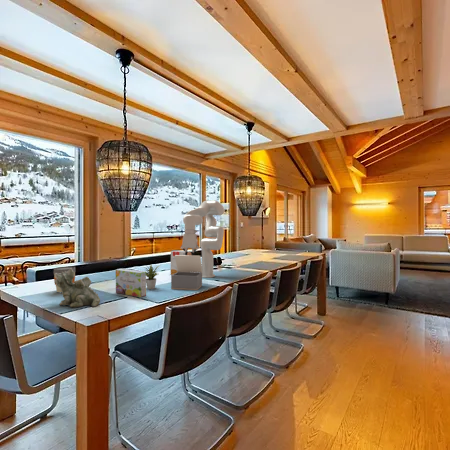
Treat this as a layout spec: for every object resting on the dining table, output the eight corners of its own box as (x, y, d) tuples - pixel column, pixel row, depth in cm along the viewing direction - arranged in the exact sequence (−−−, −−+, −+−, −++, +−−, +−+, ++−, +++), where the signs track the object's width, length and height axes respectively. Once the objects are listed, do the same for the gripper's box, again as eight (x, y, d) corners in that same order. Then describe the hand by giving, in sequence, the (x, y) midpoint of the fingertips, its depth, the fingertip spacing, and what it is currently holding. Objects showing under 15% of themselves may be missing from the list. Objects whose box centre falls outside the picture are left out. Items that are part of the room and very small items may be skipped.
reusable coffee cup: (48, 292, 186) (48, 268, 186) (66, 288, 198) (66, 266, 198) (63, 294, 182) (63, 270, 181) (80, 290, 193) (80, 267, 193)
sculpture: (67, 298, 173) (67, 264, 173) (108, 301, 167) (108, 266, 167) (44, 306, 157) (44, 268, 157) (89, 310, 151) (89, 271, 151)
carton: (177, 284, 212) (177, 271, 212) (202, 285, 209) (202, 272, 209) (171, 288, 198) (171, 275, 198) (197, 289, 196) (197, 276, 195)
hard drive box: (170, 274, 249) (170, 251, 249) (173, 273, 256) (173, 250, 256) (188, 275, 246) (188, 251, 246) (190, 273, 254) (190, 250, 254)
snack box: (114, 293, 186) (114, 269, 185) (121, 291, 191) (121, 268, 190) (140, 297, 176) (140, 272, 176) (146, 295, 181) (146, 270, 181)
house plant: (153, 284, 211) (153, 261, 211) (166, 287, 203) (166, 263, 203) (136, 288, 199) (136, 264, 199) (150, 291, 191) (150, 266, 191)
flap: (200, 256, 203) (202, 250, 208) (174, 255, 205) (177, 250, 211) (202, 272, 209) (203, 267, 215) (177, 271, 212) (180, 266, 218)
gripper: (202, 232, 213) (202, 257, 212) (180, 231, 215) (179, 257, 215) (200, 232, 205) (199, 258, 205) (177, 232, 207) (176, 258, 207)
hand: (189, 257), depth 210 cm, fingers closed on flap, 3 cm apart
